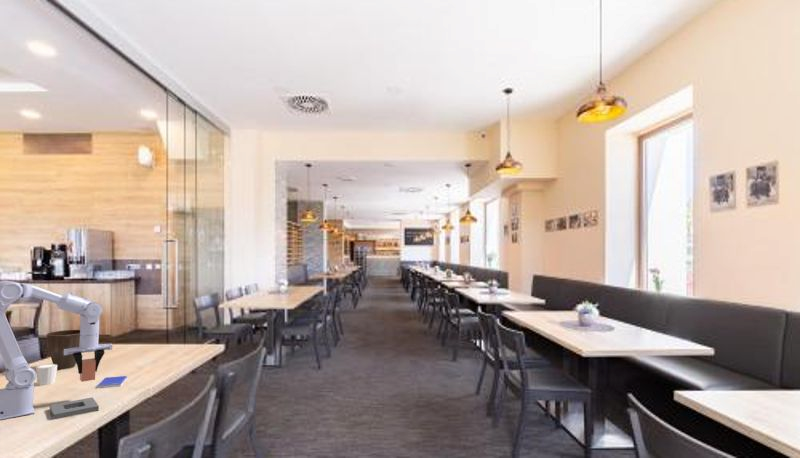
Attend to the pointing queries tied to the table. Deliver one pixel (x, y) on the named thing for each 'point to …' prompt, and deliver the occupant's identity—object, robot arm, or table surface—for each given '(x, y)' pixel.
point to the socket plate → (73, 408)
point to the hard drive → (112, 382)
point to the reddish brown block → (88, 370)
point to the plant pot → (63, 347)
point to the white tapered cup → (46, 374)
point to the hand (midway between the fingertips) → (87, 372)
